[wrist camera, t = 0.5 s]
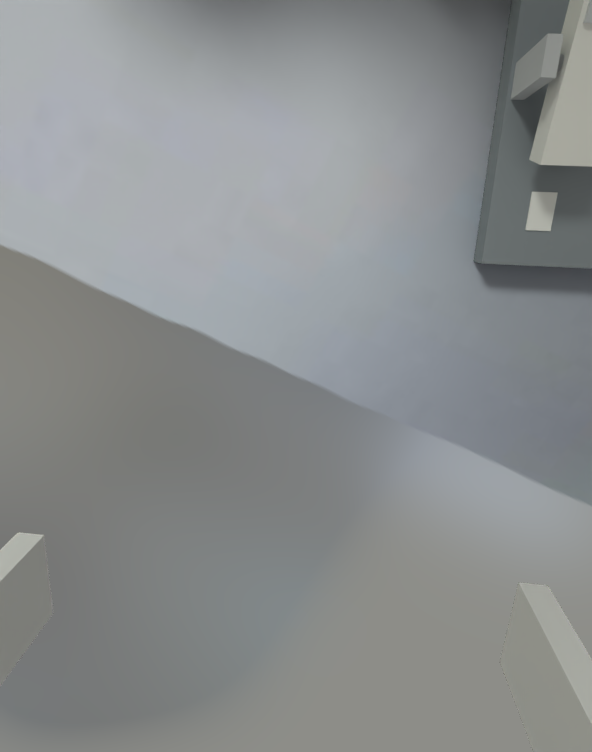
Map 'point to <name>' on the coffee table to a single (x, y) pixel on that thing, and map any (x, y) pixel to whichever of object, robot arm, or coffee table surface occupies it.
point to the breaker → (569, 96)
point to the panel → (512, 152)
